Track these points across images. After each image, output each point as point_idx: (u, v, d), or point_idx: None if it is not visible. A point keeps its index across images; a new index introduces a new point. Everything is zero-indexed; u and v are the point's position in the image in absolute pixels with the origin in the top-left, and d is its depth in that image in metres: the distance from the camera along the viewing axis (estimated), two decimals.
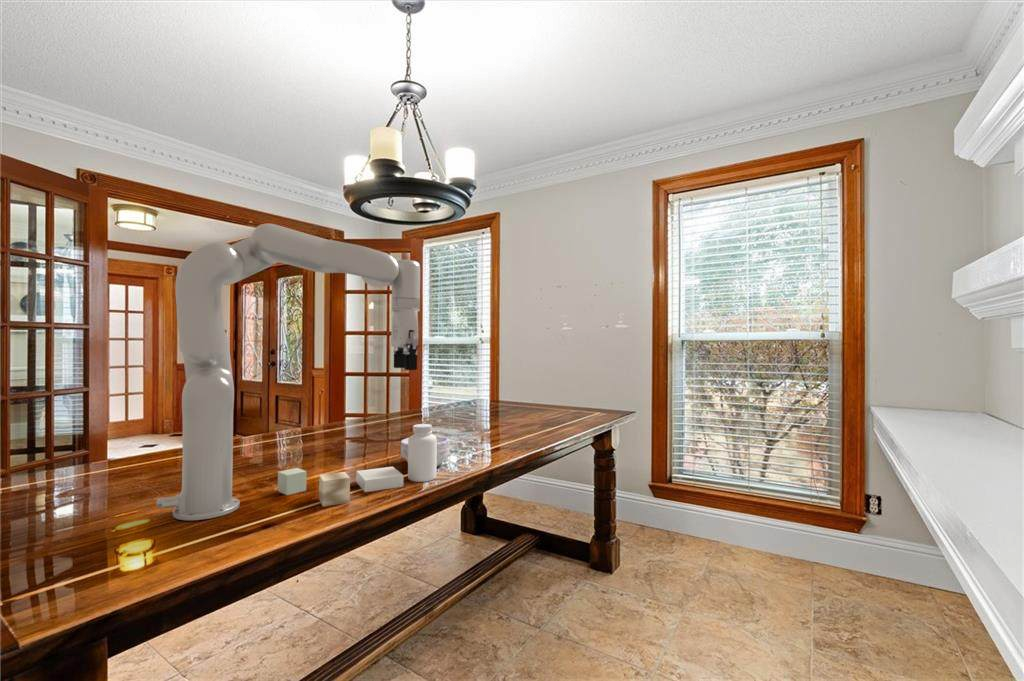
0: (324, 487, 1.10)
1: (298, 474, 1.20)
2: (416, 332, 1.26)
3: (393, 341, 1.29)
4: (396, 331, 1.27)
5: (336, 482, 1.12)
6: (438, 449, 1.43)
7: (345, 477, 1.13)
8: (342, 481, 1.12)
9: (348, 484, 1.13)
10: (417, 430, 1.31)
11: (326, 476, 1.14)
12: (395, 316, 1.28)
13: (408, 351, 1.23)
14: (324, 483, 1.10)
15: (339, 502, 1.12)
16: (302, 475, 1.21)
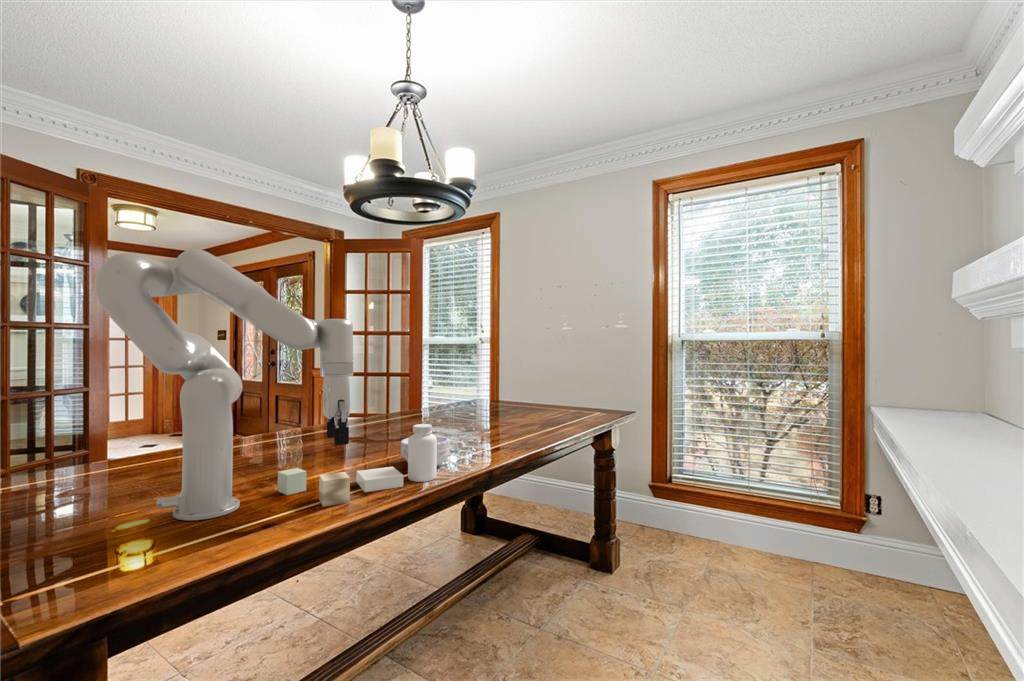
0: (324, 487, 1.10)
1: (298, 474, 1.20)
2: (347, 401, 1.11)
3: (323, 410, 1.14)
4: (325, 400, 1.12)
5: (336, 482, 1.12)
6: (438, 449, 1.43)
7: (345, 477, 1.13)
8: (342, 481, 1.12)
9: (348, 484, 1.13)
10: (417, 430, 1.31)
11: (326, 476, 1.14)
12: (324, 383, 1.13)
13: (337, 424, 1.09)
14: (324, 483, 1.10)
15: (339, 502, 1.12)
16: (302, 475, 1.21)
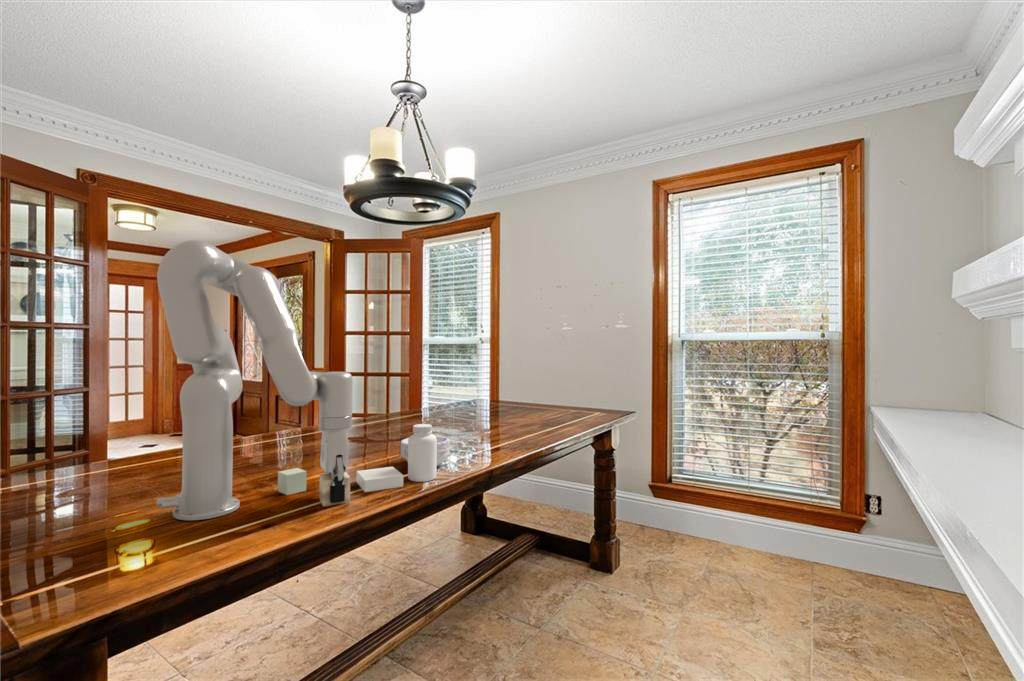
0: (324, 487, 1.10)
1: (298, 474, 1.20)
2: (345, 456, 1.11)
3: (321, 463, 1.14)
4: (323, 454, 1.12)
5: None
6: (438, 449, 1.43)
7: (345, 477, 1.13)
8: None
9: (348, 484, 1.13)
10: (417, 430, 1.31)
11: (326, 476, 1.14)
12: (323, 436, 1.13)
13: (333, 483, 1.10)
14: (324, 483, 1.10)
15: (339, 502, 1.12)
16: (302, 475, 1.21)
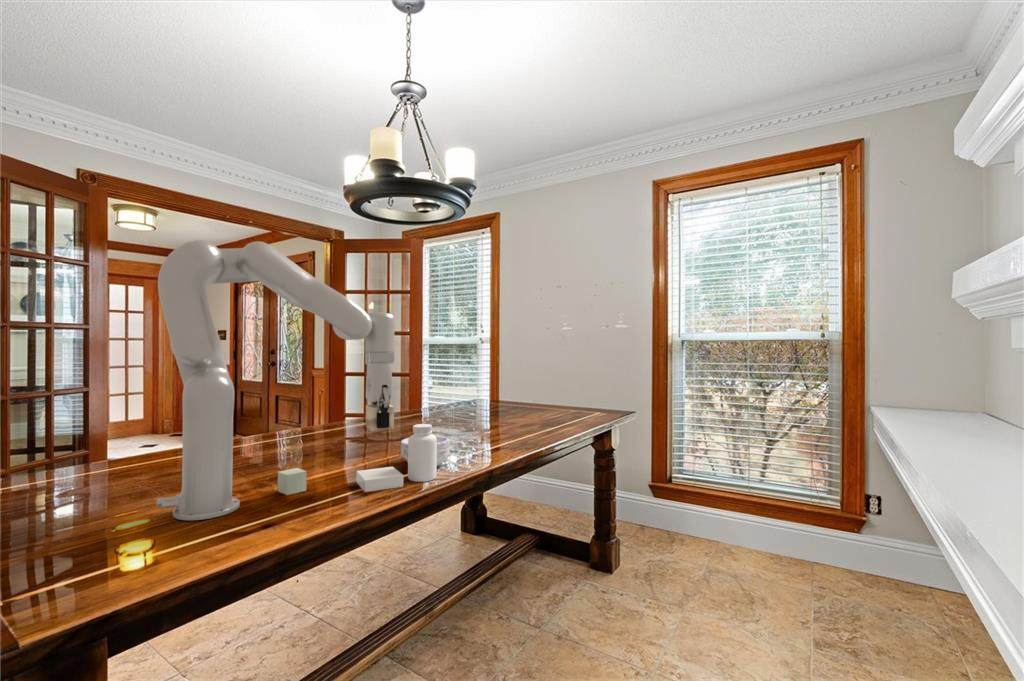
0: (372, 413, 1.23)
1: (298, 474, 1.20)
2: (390, 387, 1.24)
3: (367, 394, 1.27)
4: (370, 385, 1.25)
5: None
6: (438, 449, 1.43)
7: (390, 406, 1.26)
8: None
9: (392, 412, 1.26)
10: (417, 430, 1.31)
11: (372, 406, 1.27)
12: (369, 370, 1.26)
13: (380, 410, 1.23)
14: (372, 410, 1.23)
15: (385, 428, 1.25)
16: (302, 475, 1.21)
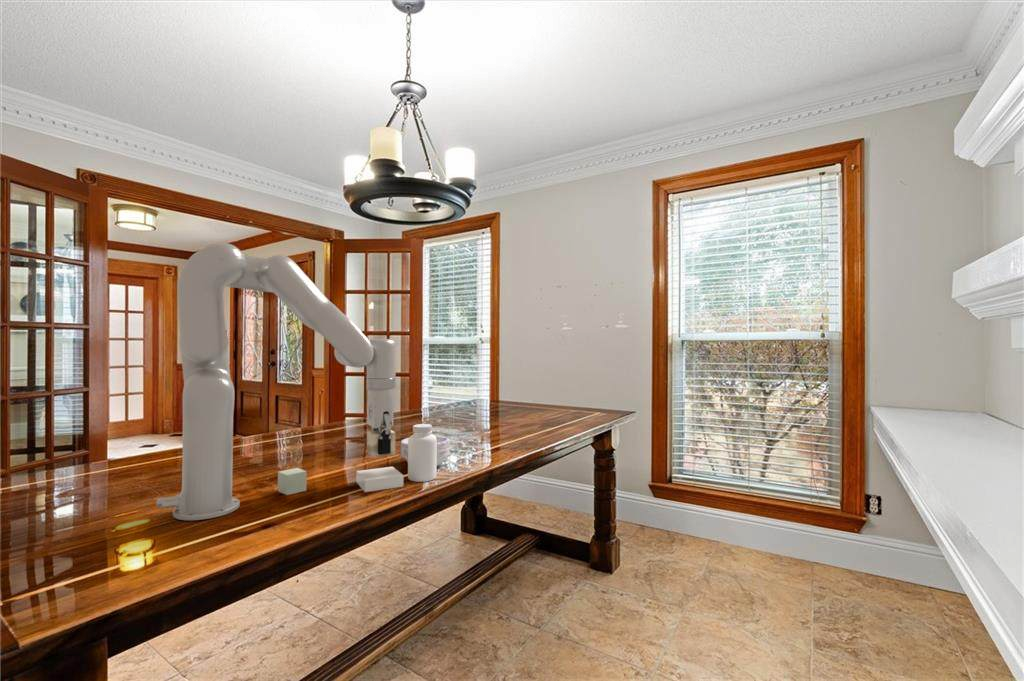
0: (373, 440, 1.24)
1: (298, 474, 1.20)
2: (391, 413, 1.24)
3: (369, 420, 1.28)
4: (371, 411, 1.26)
5: None
6: (438, 449, 1.43)
7: (391, 432, 1.27)
8: None
9: (394, 438, 1.27)
10: (417, 430, 1.31)
11: (374, 431, 1.28)
12: (370, 396, 1.26)
13: (381, 437, 1.23)
14: (373, 436, 1.24)
15: (386, 454, 1.26)
16: (302, 475, 1.21)
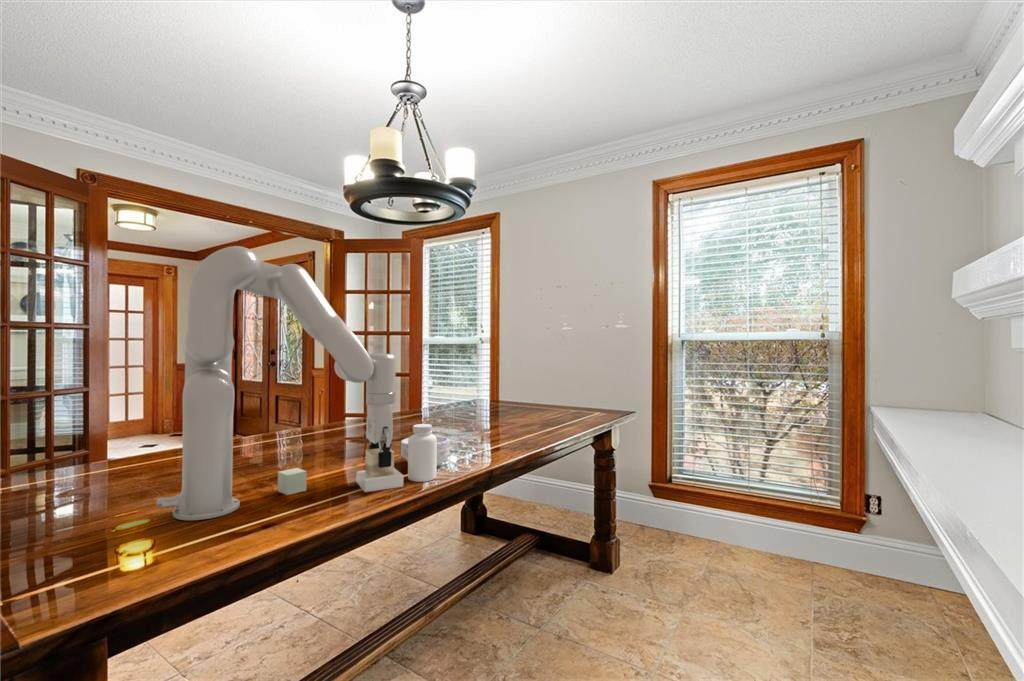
0: (372, 460, 1.24)
1: (298, 474, 1.20)
2: (390, 428, 1.24)
3: (368, 435, 1.28)
4: (370, 426, 1.25)
5: None
6: (438, 449, 1.43)
7: None
8: None
9: (392, 457, 1.26)
10: (417, 430, 1.31)
11: (372, 451, 1.27)
12: (370, 411, 1.26)
13: (382, 449, 1.22)
14: (372, 456, 1.24)
15: (385, 473, 1.25)
16: (302, 475, 1.21)
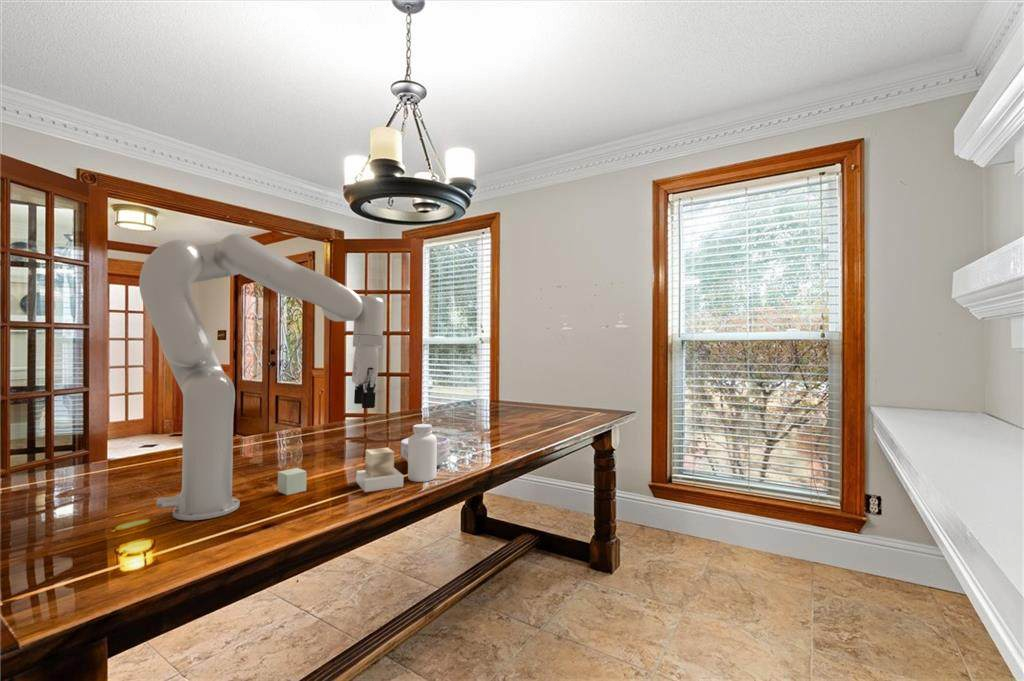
0: (372, 460, 1.24)
1: (298, 474, 1.20)
2: (375, 370, 1.24)
3: (353, 377, 1.27)
4: (356, 368, 1.25)
5: (382, 456, 1.25)
6: (438, 449, 1.43)
7: (389, 451, 1.27)
8: (388, 454, 1.26)
9: (392, 457, 1.26)
10: (417, 430, 1.31)
11: (372, 451, 1.27)
12: (356, 353, 1.26)
13: (366, 389, 1.22)
14: (372, 456, 1.24)
15: (385, 473, 1.25)
16: (302, 475, 1.21)
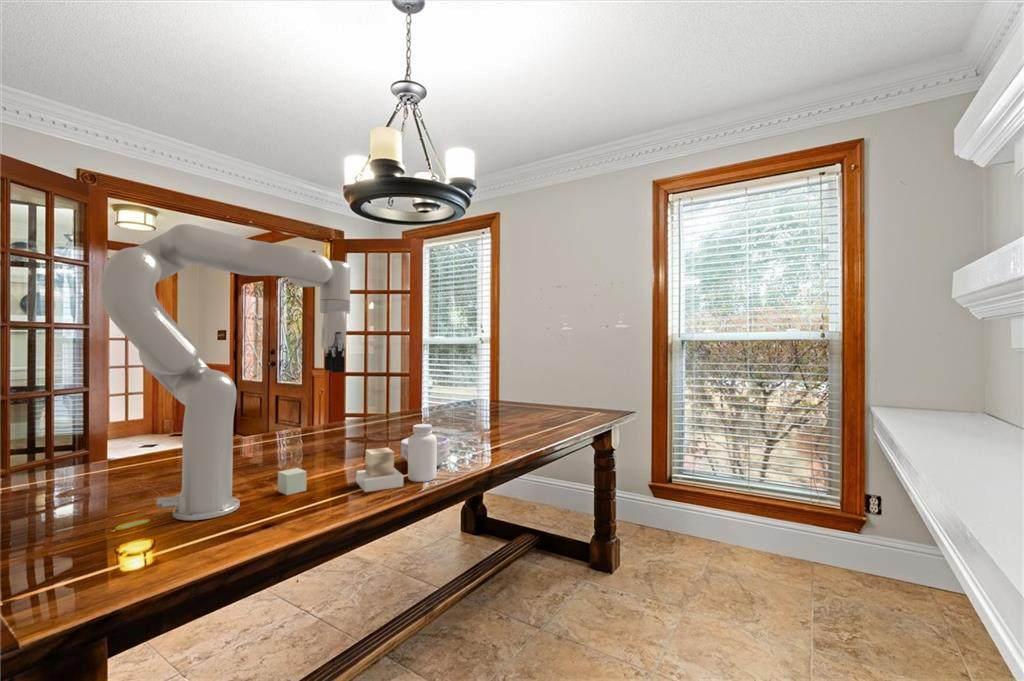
0: (372, 460, 1.24)
1: (298, 474, 1.20)
2: (343, 334, 1.24)
3: (322, 343, 1.27)
4: (324, 333, 1.25)
5: (382, 456, 1.25)
6: (438, 449, 1.43)
7: (389, 451, 1.27)
8: (388, 454, 1.26)
9: (392, 457, 1.26)
10: (417, 430, 1.31)
11: (372, 451, 1.27)
12: (323, 318, 1.26)
13: (334, 353, 1.22)
14: (372, 456, 1.24)
15: (385, 473, 1.25)
16: (302, 475, 1.21)
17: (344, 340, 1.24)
